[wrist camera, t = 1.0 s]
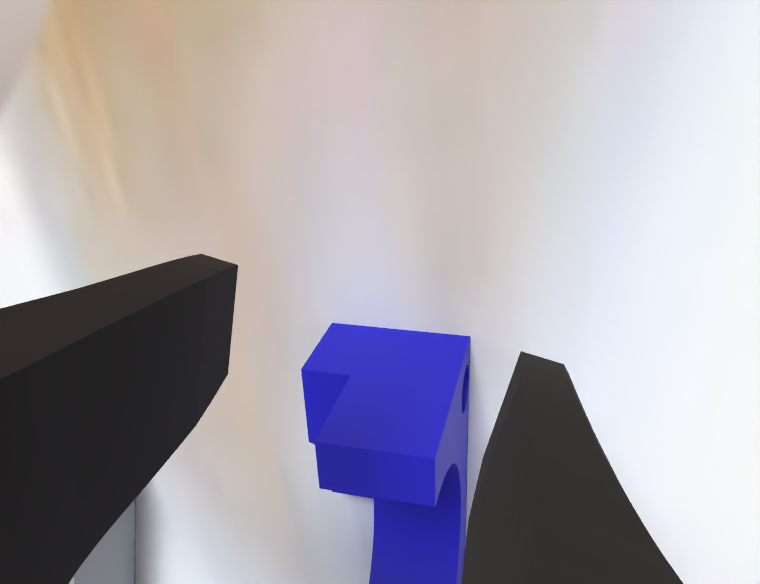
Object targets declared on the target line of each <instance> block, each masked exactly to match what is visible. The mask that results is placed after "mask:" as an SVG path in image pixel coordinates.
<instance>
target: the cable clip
mask: <svg viewBox="0 0 760 584" xmlns="http://www.w3.org/2000/svg"><path fill="white" fill-rule="evenodd" d="M469 368H470V336H460V335H450V334H440V333H429V332H419V331H409V330H399V329H388V328H378V327H368V326H358V325H347V324H337V323H332V324H331V325H330V327H329V328H328V330H327V331H326V333H325V334H324V336H323V337H322V339H321V340H320V342H319V343H318V345H317V346H316V348H315V349H314V351H313V352H312V354H311V355H310V357H309V358H308V360H307V361H306V363H305V364H304V366H303V367H302V369H301V371H302V381H303V390H304V399H305V409H306V418H307V427H308V437H309V442H311V443H313V444H315V448H316V458H317V467H318V477H319V487H320V488H321V489H327V490H332V492H337V493H344V494H350V495H356V496H362V497H368V498H374V539H373V553H372V564H371V573H370V581H369V584H462V575H463V566H464V557H465V537H466V495H467V453H468V410H469Z"/></svg>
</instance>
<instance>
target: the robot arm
mask: <svg viewBox="0 0 760 584" xmlns="http://www.w3.org/2000/svg"><path fill="white" fill-rule="evenodd" d="M237 271H238V265H236V264H232V263H229V262H226V261H223V260H219V259H216V258H213V257H210V256H206V255H203V254H198V255H193V256H188V257H184V258H180V259H176V260H172V261H169V262H165V263H162V264H158V265H155V266H152V267H148V268H145V269H142V270H138V271H135V272H132V273H129V274H125V275H122V276H118V277H115V278H112V279H108V280H105V281H102V282H98V283H95V284H92V285H88V286H85V287H81V288H78V289H74V290H71V291H67V292H63V293H59V294H55V295H51V296H47V297H44V298H40V299H36V300H32V301H28V302H24V303H20V304H16V305H13V306H9V307H5V308H1V309H0V584H69V582H70V581H71V579H72V578H73V576H74V575H75V573H76V572H77V571H78V569H79V568H80V566H81V565H82V564H83V562H84V561H85V560H86V558H87V557H88V556H89V554H90V553H91V552H92V551H93V549H94V548H95V547H96V545H97V544H98V543H99V541H100V540H101V539H102V538H103V536H104V535H105V534H106V533H107V532H108V530H109V529H110V528H111V527H112V526H113V524H114V523H115V522H116V521H117V520H118V518H119V517H120V516H121V515H122V514H123V513H124V511H125V510H126V509H127V508H128V507H129V505H130V504H131V503H132V502H133V501H134V499H135V498H136V497H137V496H138V495H139V493H140V492H141V491H142V490H143V489H144V488H145V486H146V485H147V484H148V483H149V482H150V480H151V479H152V478H153V477H154V476H155V474H156V473H157V472H158V471H159V470H160V469H161V467H162V466H163V465H164V464H165V463H166V461H167V460H168V459H169V458H170V456H171V455H172V454H173V453H174V452H175V450H176V449H177V448H178V447H179V446H180V444H181V443H182V442H183V441H184V440H185V438H186V437H187V436H188V435H189V433H190V432H191V431H192V430H193V428H194V427H195V426H196V424H197V423H198V421H199V420H200V418H201V417H202V415H203V414H204V412H205V411H206V409H207V407H208V406H209V404H210V403H211V401H212V399H213V398H214V396H215V395H216V393H217V391H218V390H219V388H220V386H221V385H222V383H223V381H224V380H225V378H226V376H227V375H228V366H229V356H230V345H231V335H232V324H233V313H234V303H235V292H236V281H237ZM462 584H683V583H682V581H681V580H680V578H679V577H678V576H677V574H676V573H675V571H674V570H673V568H672V567H671V566H670V564H669V563H668V561H667V560H666V559H665V557H664V556H663V554H662V553H661V551H660V550H659V548H658V547H657V545H656V543H655V542H654V540H653V539H652V537H651V536H650V534H649V533H648V531H647V529H646V528H645V526H644V524H643V523H642V521H641V519H640V518H639V516H638V514H637V513H636V511H635V509H634V508H633V506H632V504H631V503H630V501H629V499H628V497H627V495H626V494H625V492H624V490H623V488H622V486H621V484H620V483H619V481H618V479H617V477H616V475H615V473H614V471H613V469H612V467H611V465H610V463H609V461H608V459H607V457H606V455H605V453H604V451H603V449H602V448H601V446H600V444H599V441H598V439H597V437H596V435H595V433H594V431H593V429H592V427H591V424H590V422H589V420H588V418H587V416H586V413H585V411H584V409H583V407H582V404H581V402H580V400H579V397H578V395H577V392H576V390H575V388H574V385H573V383H572V380H571V378H570V376H569V373H568V371H567V370H566V368H565V366H564V364H561V363H558V362H554V361H551V360H548V359H544V358H541V357H538V356H535V355H531V354H528V353H525V352H522V351H521V353H520V355H519V358H518V361H517V364H516V367H515V369H514V372H513V375H512V378H511V381H510V384H509V386H508V389H507V392H506V395H505V398H504V400H503V403H502V406H501V409H500V412H499V414H498V417H497V420H496V423H495V426H494V429H493V431H492V434H491V437H490V440H489V443H488V445H487V448H486V451H485V454H484V457H483V460H482V464H481V469H480V473H479V477H478V481H477V486H476V490H475V494H474V499H473V503H472V507H471V512H470V516H469V522H468V531H467V539H466V548H465V557H464V566H463V575H462Z"/></svg>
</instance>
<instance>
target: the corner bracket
mask: <svg viewBox="0 0 760 584" xmlns="http://www.w3.org/2000/svg"><path fill="white" fill-rule="evenodd" d="M69 584H135V499H134V501H133V502H132V503H131V504H130V505H129V507H128V508H127V509H126V510H125V511H124V513H123V514H122V515H121V516H120V517H119V518H118V520H117V521H116V522H115V523H114V524H113V526H112V527H111V528H110V529H109V530H108V532H107V533H106V534H105V535H104V536H103V538H102V539H101V540H100V541H99V543H98V544H97V545H96V547H95V548H94V549H93V551H92V552H91V553H90V554H89V556H88V557H87V558H86V560H85V561H84V562H83V564H82V565H81V566H80V568H79V569H78V571H77V572H76V573H75V575H74V576H73V578H72V579H71V581H70V582H69Z"/></svg>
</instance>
